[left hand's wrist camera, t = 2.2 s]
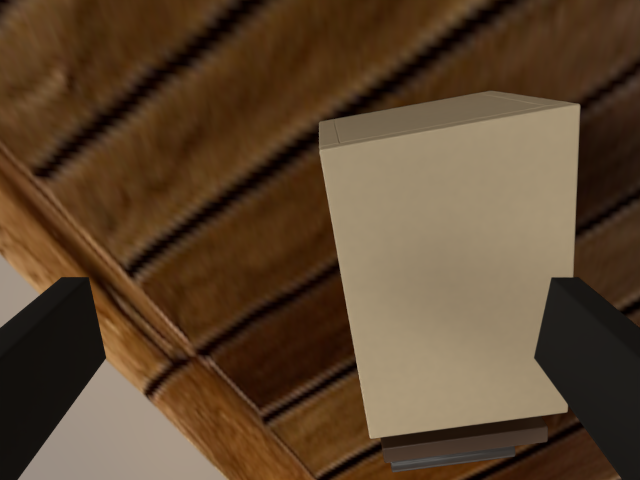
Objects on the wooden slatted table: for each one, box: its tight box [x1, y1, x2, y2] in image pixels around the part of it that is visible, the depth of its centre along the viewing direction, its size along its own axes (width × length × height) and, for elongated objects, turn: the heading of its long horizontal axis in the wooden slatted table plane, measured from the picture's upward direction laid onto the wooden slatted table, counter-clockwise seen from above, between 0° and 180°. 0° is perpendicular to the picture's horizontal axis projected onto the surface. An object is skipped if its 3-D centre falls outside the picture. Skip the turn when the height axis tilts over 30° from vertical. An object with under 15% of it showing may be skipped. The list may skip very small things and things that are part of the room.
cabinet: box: [319, 91, 580, 439], centre depth 26 cm, size 17×11×10 cm, turn 10°
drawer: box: [380, 416, 548, 472], centre depth 29 cm, size 21×10×8 cm, turn 10°
